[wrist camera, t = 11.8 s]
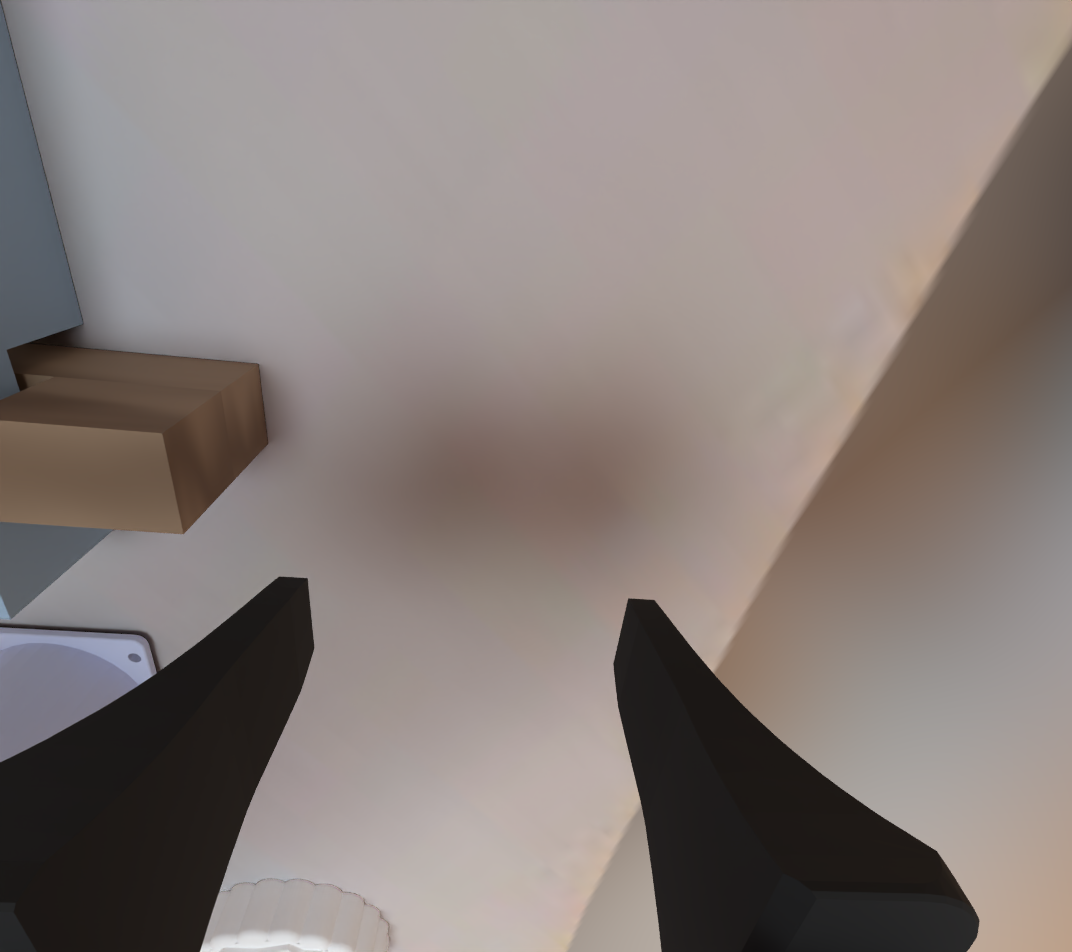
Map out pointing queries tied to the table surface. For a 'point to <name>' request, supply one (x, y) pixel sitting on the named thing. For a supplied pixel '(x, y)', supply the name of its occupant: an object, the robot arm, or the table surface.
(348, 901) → the mooncake
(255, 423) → the walnut beam
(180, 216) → the table surface
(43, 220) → the slate crossbar
